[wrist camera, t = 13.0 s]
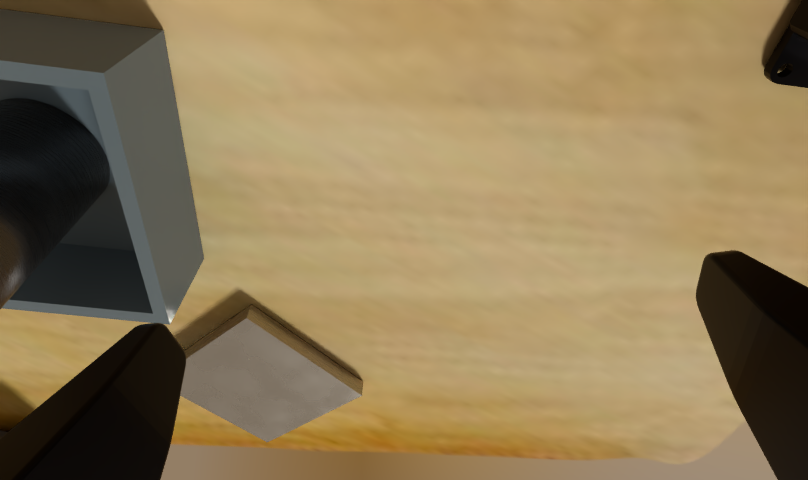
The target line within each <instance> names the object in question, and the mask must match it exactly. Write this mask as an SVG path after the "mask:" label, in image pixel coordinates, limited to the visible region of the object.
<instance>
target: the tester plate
mask: <svg viewBox="0 0 808 480" xmlns="http://www.w3.org/2000/svg"><path fill="white" fill-rule="evenodd" d="M184 352H185V355H186V368H185V373H184V378H183V383H182V388H181V394H180V396H182V397H184V398H186V399H188V400H190V401H192V402H193V403H195V404H197V405H199V406H201V407H203V408H205V409H206V410H208V411H210V412H212V413H214V414H216V415H218V416H220V417H221V418H223V419H225V420H227V421H229V422H231V423H233V424H234V425H236V426H238V427H240V428H242V429H244V430H246V431H247V432H249V433H251V434H253V435H255V436H257V437H259V438H261V439H262V440H264V441H266V442H269V441H271V440H273V439H275V438H277V437H279V436H281V435H283V434H285V433H287V432H289V431H291V430H293V429H295V428H297V427H299V426H301V425H303V424H305V423H307V422H309V421H311V420H313V419H315V418H318V417H320V416H322V415H324V414H326V413H328V412H330V411H332V410H334V409H336V408H338V407H340V406H342V405H344V404H346V403H348V402H350V401H352V400H354V399H356V398H358V397H360V396H362V390H363V381H361V380H360V379H358V378H357V377H356V376H354V375H353V374H351V373H350V372H348V371H347V370H345V369H344V368H343V367H341V366H340V365H338V364H337V363H335V362H334V361H332V360H331V359H330V358H328V357H327V356H325V355H324V354H322V353H321V352H319V351H318V350H317V349H315V348H314V347H312V346H311V345H309V344H308V343H306V342H305V341H304V340H302V339H301V338H299V337H298V336H296V335H295V334H293V333H292V332H291V331H289V330H288V329H286V328H285V327H283V326H282V325H280V324H279V323H278V322H276V321H275V320H273V319H272V318H270V317H269V316H267V315H266V314H265V313H263V312H262V311H260V310H259V309H257V308H256V307H254V306H253V305H250V306H249V307H247V308H246V309H244V310H243V311H241V312H240V313H238V314H237V315H236V316H234V317H233V318H231V319H230V320H228V321H227V322H225V323H224V324H222V325H221V326H220V327H218V328H217V329H215V330H214V331H212V332H211V333H209V334H208V335H206V336H205V337H204V338H202V339H201V340H199V341H198V342H196V343H195V344H193V345H192V346H190V347H189V348H188V349H186V350H185V351H184Z"/></svg>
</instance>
